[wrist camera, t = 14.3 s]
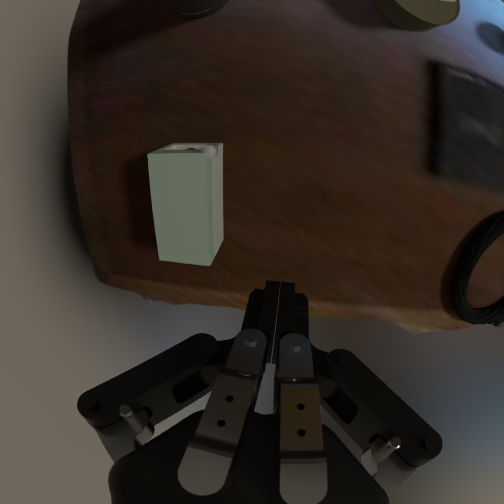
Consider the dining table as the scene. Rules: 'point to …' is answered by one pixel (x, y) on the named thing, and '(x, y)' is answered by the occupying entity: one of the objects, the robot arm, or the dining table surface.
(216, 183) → the curved white channel
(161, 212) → the cover
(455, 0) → the can
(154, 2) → the dining table surface
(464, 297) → the cable lock
